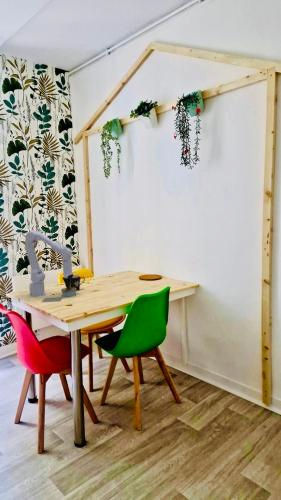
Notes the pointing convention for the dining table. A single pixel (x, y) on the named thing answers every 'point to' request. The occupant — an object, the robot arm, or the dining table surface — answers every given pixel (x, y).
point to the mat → (52, 299)
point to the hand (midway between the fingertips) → (68, 286)
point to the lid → (68, 289)
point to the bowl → (68, 294)
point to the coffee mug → (76, 282)
